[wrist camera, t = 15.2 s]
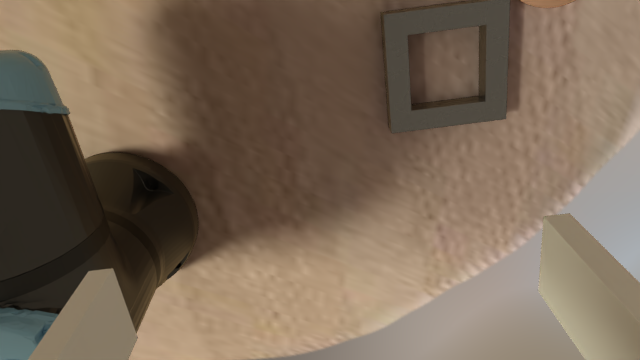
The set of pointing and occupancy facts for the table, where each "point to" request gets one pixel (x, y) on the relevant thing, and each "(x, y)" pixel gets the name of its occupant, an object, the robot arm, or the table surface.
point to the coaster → (547, 3)
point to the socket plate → (493, 20)
